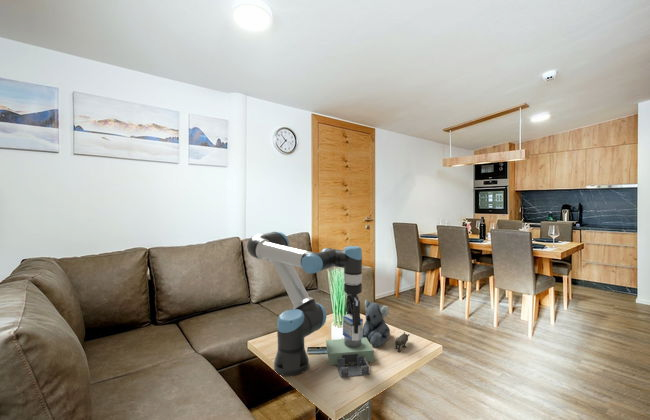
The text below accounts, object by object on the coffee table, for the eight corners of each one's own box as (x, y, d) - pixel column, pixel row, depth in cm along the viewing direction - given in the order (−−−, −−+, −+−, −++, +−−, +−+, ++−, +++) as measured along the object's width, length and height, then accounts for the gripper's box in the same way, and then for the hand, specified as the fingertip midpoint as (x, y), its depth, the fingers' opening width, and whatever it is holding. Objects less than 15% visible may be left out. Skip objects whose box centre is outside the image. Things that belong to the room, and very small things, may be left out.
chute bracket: (340, 377, 121) (340, 369, 121) (336, 365, 130) (336, 357, 130) (369, 374, 123) (369, 366, 123) (364, 363, 132) (363, 355, 131)
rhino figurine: (412, 342, 151) (412, 330, 151) (400, 353, 140) (400, 340, 140) (405, 340, 153) (404, 328, 153) (392, 350, 143) (392, 338, 143)
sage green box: (330, 365, 131) (329, 345, 130) (326, 350, 144) (326, 332, 144) (374, 361, 133) (373, 341, 133) (366, 347, 146) (366, 329, 146)
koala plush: (351, 338, 157) (350, 301, 156) (372, 327, 169) (371, 293, 168) (377, 349, 144) (377, 309, 144) (398, 337, 156) (398, 301, 156)
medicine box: (342, 335, 128) (342, 315, 128) (349, 332, 131) (349, 313, 131) (355, 342, 123) (356, 321, 122) (363, 338, 125) (363, 318, 125)
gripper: (368, 290, 116) (368, 346, 117) (355, 276, 137) (354, 323, 138) (350, 291, 115) (349, 348, 116) (339, 276, 136) (339, 324, 137)
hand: (352, 334), depth 127 cm, fingers closed on medicine box, 9 cm apart
